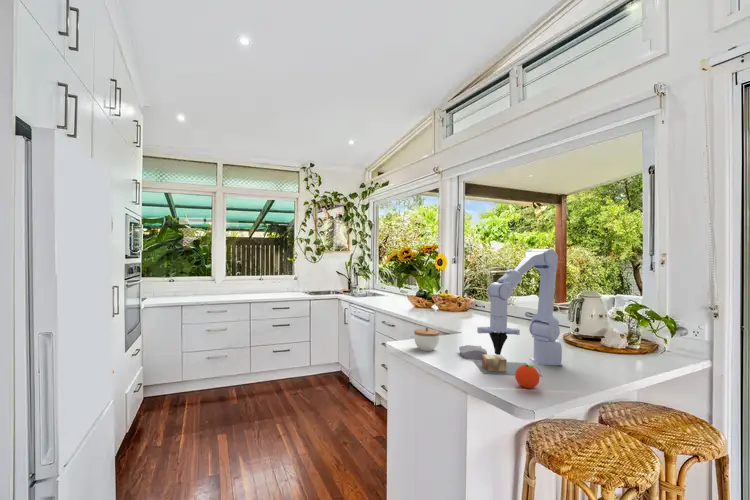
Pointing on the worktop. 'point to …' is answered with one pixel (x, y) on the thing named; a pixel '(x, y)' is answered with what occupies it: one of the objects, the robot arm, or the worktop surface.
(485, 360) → the maple block
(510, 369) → the slate mat
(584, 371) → the worktop surface
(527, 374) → the clementine
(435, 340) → the lidded jar
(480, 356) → the stone block
